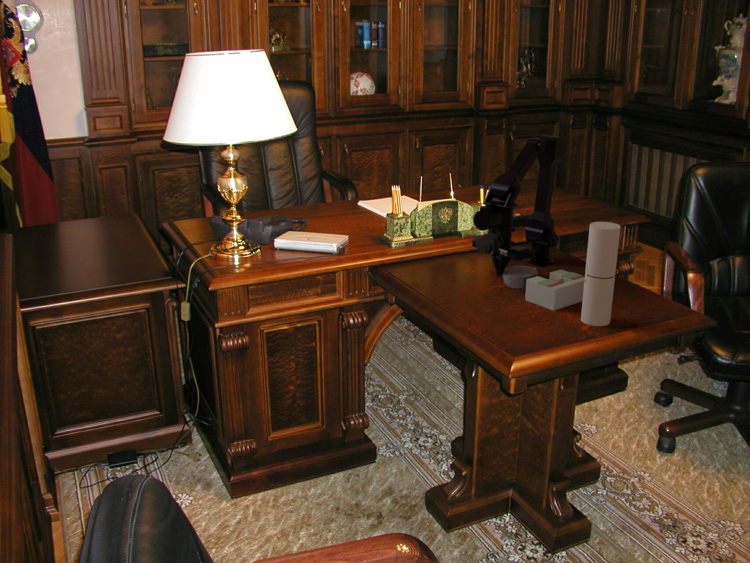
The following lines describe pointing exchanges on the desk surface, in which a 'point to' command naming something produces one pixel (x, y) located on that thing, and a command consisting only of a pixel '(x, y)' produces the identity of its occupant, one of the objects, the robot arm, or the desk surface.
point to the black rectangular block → (535, 276)
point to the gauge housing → (555, 290)
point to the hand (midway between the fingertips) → (499, 275)
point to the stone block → (517, 275)
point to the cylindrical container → (600, 273)
